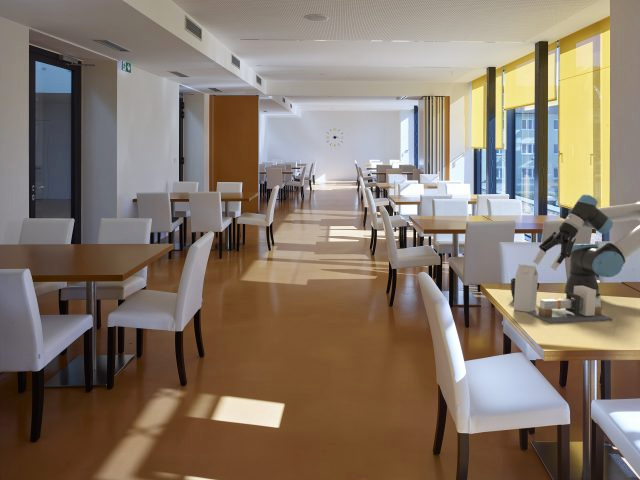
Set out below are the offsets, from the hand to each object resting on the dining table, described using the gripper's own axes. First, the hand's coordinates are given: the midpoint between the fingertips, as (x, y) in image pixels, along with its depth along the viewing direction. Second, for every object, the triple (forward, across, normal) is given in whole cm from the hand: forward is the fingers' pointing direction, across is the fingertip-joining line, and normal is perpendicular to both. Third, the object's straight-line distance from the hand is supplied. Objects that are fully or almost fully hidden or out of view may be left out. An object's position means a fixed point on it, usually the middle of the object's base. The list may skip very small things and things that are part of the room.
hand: (543, 265), depth 301 cm
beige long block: (+16, +28, +4) cm, 33 cm away
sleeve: (+11, +28, +9) cm, 32 cm away
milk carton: (+22, +14, -5) cm, 27 cm away
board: (+16, +28, +4) cm, 33 cm away
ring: (+13, +28, +4) cm, 31 cm away
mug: (+18, -1, +2) cm, 18 cm away
